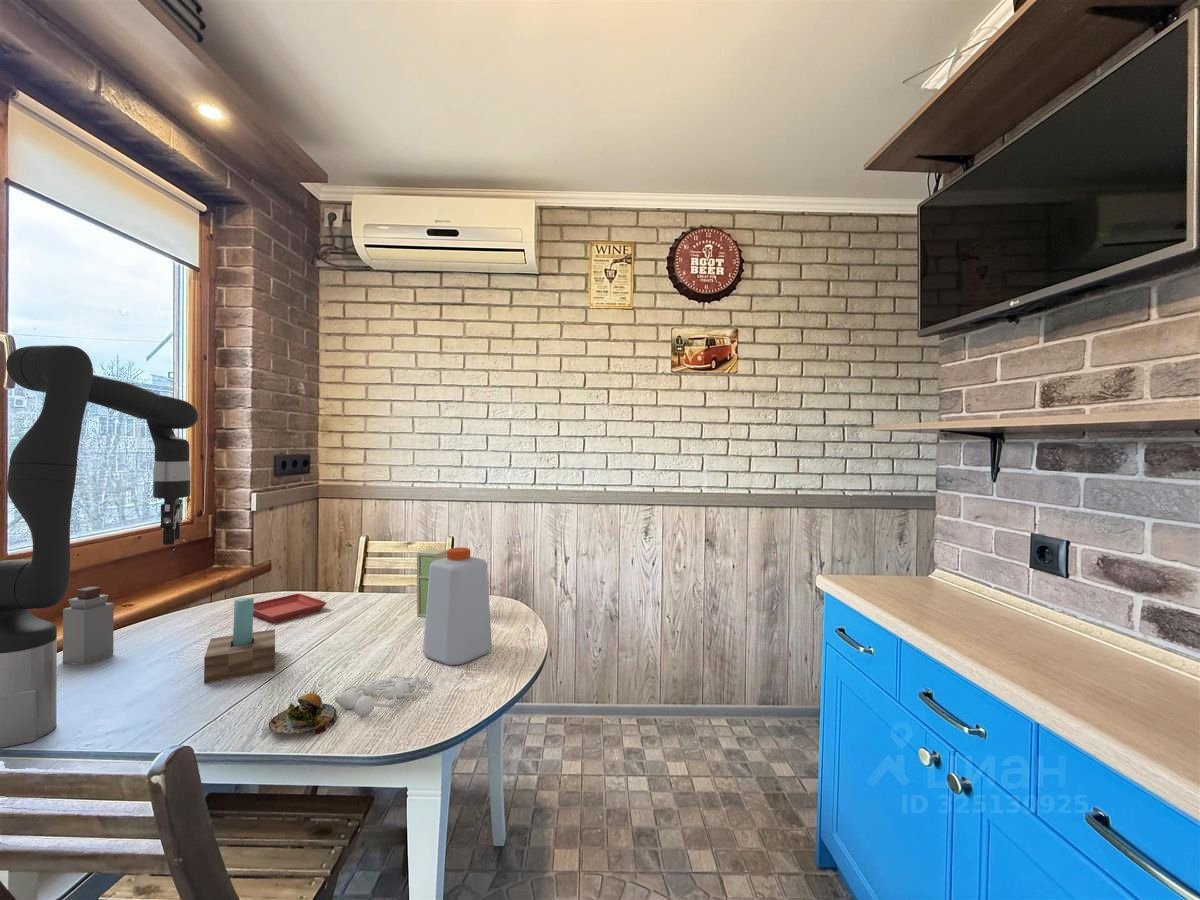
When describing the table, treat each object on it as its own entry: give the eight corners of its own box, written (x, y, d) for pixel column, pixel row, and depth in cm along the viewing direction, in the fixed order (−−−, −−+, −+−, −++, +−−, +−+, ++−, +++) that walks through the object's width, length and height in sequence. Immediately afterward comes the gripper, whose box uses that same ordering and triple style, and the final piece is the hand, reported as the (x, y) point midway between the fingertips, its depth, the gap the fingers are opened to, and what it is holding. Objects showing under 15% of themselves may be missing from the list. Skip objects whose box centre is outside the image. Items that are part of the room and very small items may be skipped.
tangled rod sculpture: (403, 679, 131) (402, 661, 131) (442, 689, 123) (442, 671, 123) (325, 708, 115) (325, 688, 115) (364, 722, 107) (364, 701, 107)
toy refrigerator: (414, 617, 173) (415, 552, 173) (428, 610, 180) (428, 548, 180) (436, 619, 171) (436, 554, 171) (448, 613, 178) (449, 549, 178)
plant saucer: (328, 611, 179) (328, 601, 179) (271, 626, 164) (271, 615, 164) (298, 602, 189) (298, 593, 189) (242, 615, 174) (242, 605, 174)
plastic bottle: (498, 650, 146) (499, 548, 146) (455, 669, 133) (456, 557, 133) (460, 639, 154) (461, 542, 154) (416, 656, 141) (417, 550, 141)
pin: (251, 661, 133) (253, 600, 133) (231, 664, 131) (234, 602, 131) (251, 656, 136) (253, 597, 137) (232, 659, 134) (234, 598, 135)
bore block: (274, 670, 131) (275, 646, 131) (204, 683, 124) (204, 657, 124) (275, 651, 143) (275, 629, 143) (210, 662, 136) (210, 638, 136)
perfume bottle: (83, 664, 133) (84, 592, 133) (62, 662, 135) (63, 591, 135) (113, 654, 140) (113, 586, 140) (92, 652, 141) (93, 584, 141)
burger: (261, 725, 107) (262, 687, 107) (325, 705, 115) (325, 670, 115) (278, 750, 98) (278, 709, 98) (345, 726, 106) (346, 689, 106)
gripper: (186, 480, 134) (186, 545, 134) (194, 477, 146) (193, 536, 146) (147, 481, 130) (147, 547, 130) (158, 477, 142) (158, 538, 142)
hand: (171, 541), depth 138 cm, fingers open, 8 cm apart
